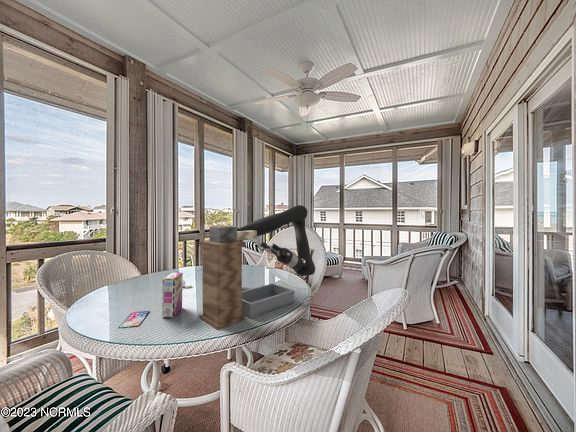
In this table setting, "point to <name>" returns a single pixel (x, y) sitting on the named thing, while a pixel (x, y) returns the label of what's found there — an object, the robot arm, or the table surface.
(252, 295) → the charcoal tray
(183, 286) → the teacup and saucer
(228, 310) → the walnut stand
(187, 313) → the table surface
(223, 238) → the mallet
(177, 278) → the candy bar box
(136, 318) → the smartphone
